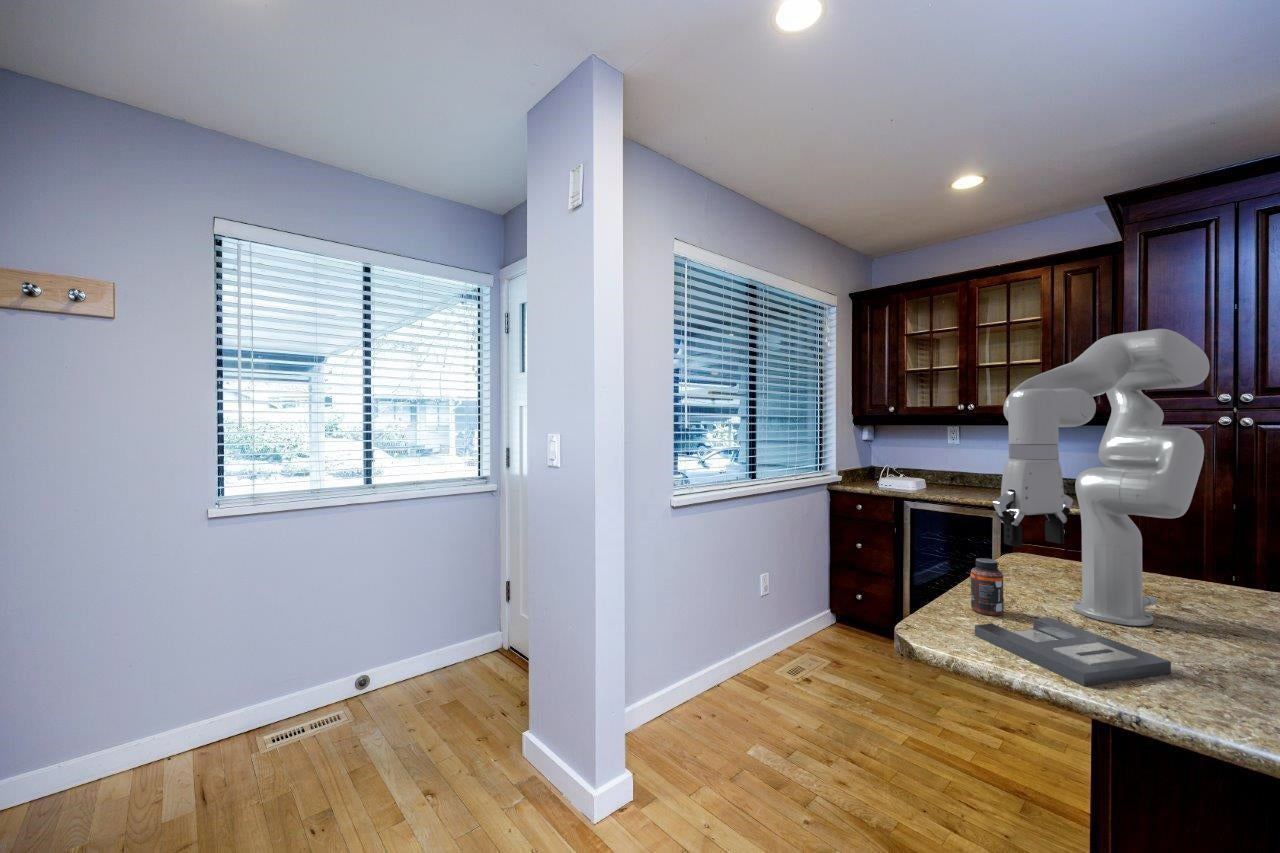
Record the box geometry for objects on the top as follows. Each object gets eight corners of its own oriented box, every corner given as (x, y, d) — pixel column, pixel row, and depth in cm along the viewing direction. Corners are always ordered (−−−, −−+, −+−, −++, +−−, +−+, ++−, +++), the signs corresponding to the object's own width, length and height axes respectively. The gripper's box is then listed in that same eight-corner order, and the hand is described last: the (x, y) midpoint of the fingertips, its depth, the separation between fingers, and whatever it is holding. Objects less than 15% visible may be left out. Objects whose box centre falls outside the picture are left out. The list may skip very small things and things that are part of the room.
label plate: (1049, 627, 103) (1049, 615, 103) (1171, 673, 84) (1170, 659, 84) (974, 635, 99) (974, 623, 99) (1084, 686, 80) (1083, 671, 80)
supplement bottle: (1009, 617, 108) (1008, 564, 108) (978, 615, 110) (977, 563, 110) (995, 607, 114) (995, 557, 114) (966, 606, 115) (965, 556, 115)
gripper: (1050, 452, 102) (1050, 537, 102) (978, 453, 99) (978, 542, 99) (1090, 454, 95) (1091, 545, 95) (1014, 455, 91) (1014, 551, 91)
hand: (1033, 544), depth 97 cm, fingers open, 9 cm apart
